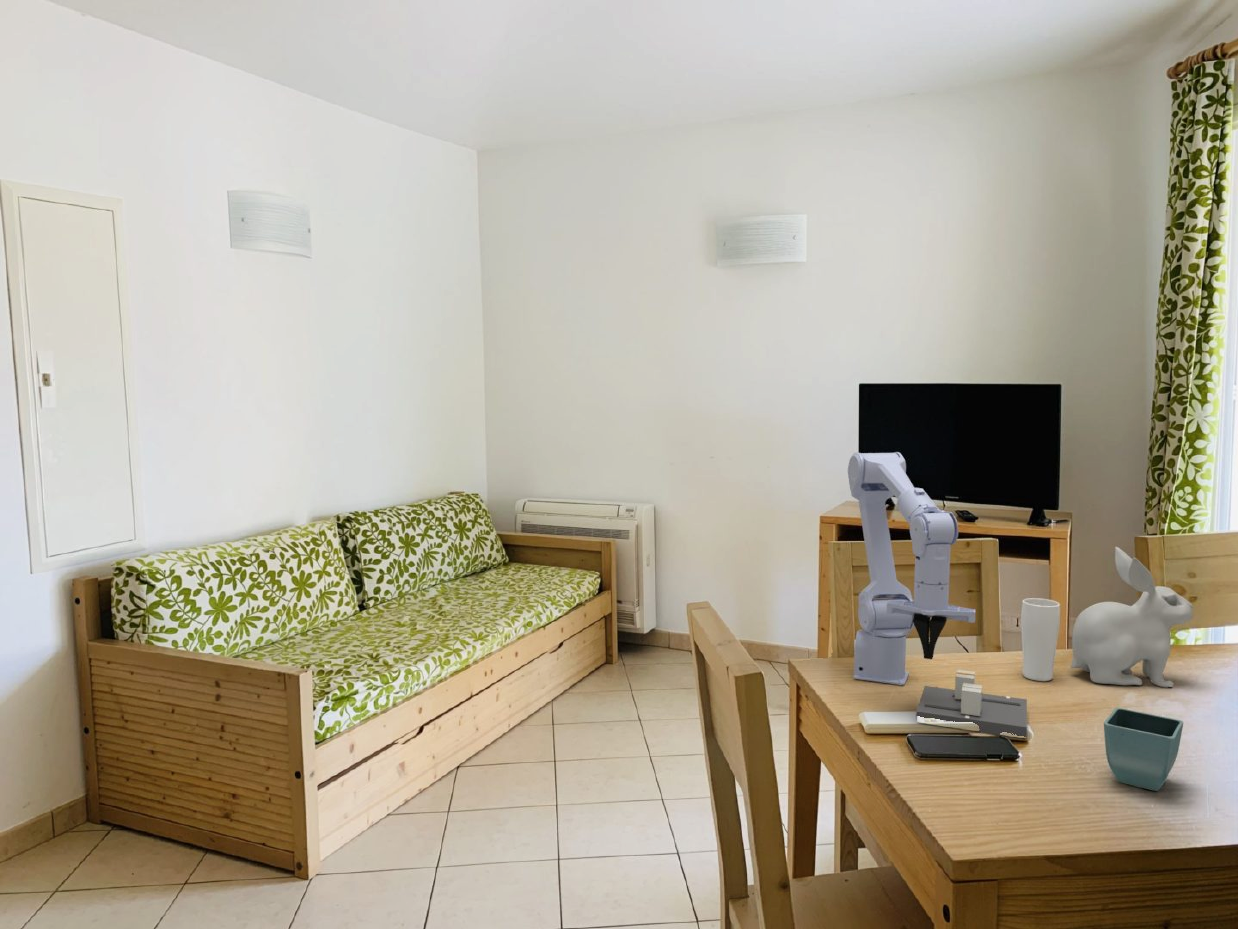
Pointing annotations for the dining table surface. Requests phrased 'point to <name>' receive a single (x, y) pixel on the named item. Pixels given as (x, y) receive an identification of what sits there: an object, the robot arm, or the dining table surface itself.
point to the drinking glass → (1039, 637)
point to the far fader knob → (963, 681)
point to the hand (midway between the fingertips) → (928, 657)
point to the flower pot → (1141, 747)
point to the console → (993, 717)
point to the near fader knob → (971, 699)
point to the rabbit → (1129, 630)
